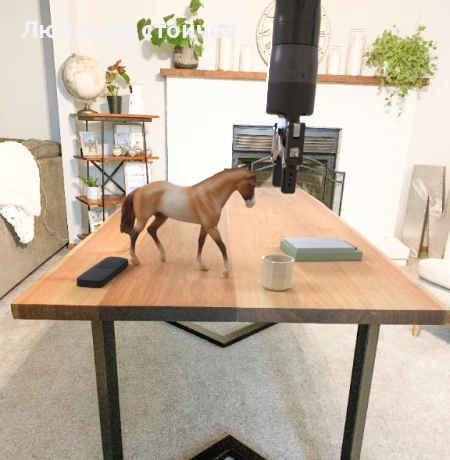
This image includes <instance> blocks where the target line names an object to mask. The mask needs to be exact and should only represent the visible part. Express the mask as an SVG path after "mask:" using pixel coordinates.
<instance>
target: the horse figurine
mask: <svg viewBox="0 0 450 460" xmlns="http://www.w3.org/2000/svg"><path fill="white" fill-rule="evenodd" d="M260 173H261V170H260V169H257V170H253V171H251V170H249V169H247V168H245V167H239V166H236V167H231V168H226V169H223V170H221V171H218V172H215V173H214V174H213V175H211V176H209V177H206V178H205V179H203V180H201V181H199V182H197V183H195V184H193V185H191V186H182V185H178V184H175V183H173V182H171V181H169V180H156V181H155V180H154V181H151V182H149V183H147V184H144V185H143V186H140V187H136V188H135V189H133V190H132V191H130V192H129V193H128V194H127V195H126V196H125V198H124V200H123V202H122V204H121V208H120V211H121V212H120V213H121V215H120V224H119V232H120V234H127V235H128V236H129V239H130V244H129V245H130V248H129V251H128V254H129V255H130V257H131V259H130V263H131V264H132V265H134V266H140V265H141V263H142V262H141V261H140V259H139V258H138V256H137V254H136V242H137V241H138V238H139V236H140V234H141V233H142V232H143V231H144V230H145V228H146V232H147V233H148V234H149V236H150V237H151V238H152V240H153V242H154V244H155V245H156V248H157V251H158V252H160V253H159V256H158V259H159V260H160V261H161V262H162V263H164V264H165V263H166V261H167V254H166V250H165V247H164V246H163V244H162V243H161V241H160V239H159V237H158V234H157V232H158V230H159V228H160V227H162V226H163V225H164V224H166V223H167V220H168V219H172V220H175V221H178V222H183V223H189V224H194V225H199V226H200V231H199V235H198V238H197V252H196V256H195V260H196V261H197V262H198V263H199V268H200V270H201V271H205V272H206V271H209V270H210V268H209V266H208V265H207V263H205V261H204V260H203V258H202V252H203V248H204V246H205V242H206V238H207V237H208V235H209V237H210V238H211V239H212V240H213V242H214V243H215V245H216V246H217V247H218V249H219V251H220V253H221V255H222V260H223V266H224V268H223V269H222V273H221V274H222V276H223V277H224V278H225V279H229V278H230V265H231V264H230V260H229V257H228V251H227V246H226V244H225V243H224V241H223V240H222V236H221V233H220V230H219V228H218V225H219V222H220V220H221V215H222V210H223V208H224V207H225V206H226V204H227V202H228V200H229V199H230V198H231V197H232V195H233V194H234V193H235V192H236V191H237V193H239V195H240V196H241V197H242V199H243V201H244V202H245V203H244V204H245V207H246V208H248V209H252V208H253V207H254V206H255V205H256V185H257V175H259V174H260ZM152 217H154V219H153V220H152V222H151V223H149V225H148V226H147V223H148V221H149V220H150V219H151V218H152ZM135 222H136V223H135ZM146 226H147V227H146Z"/></svg>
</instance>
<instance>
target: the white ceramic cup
mask: <svg viewBox="0 0 450 460" xmlns="http://www.w3.org/2000/svg"><path fill="white" fill-rule="evenodd" d="M261 258H262V259H261V272H260V273H261V274H260V285H261V286H263V288H264V289H267V290H268V291H269V290H270V291H275V292H276V291H277V292H282V291H287V290H289V289H290V288H292V287H293V282H294V273H295V272H294V271H295V262H296V261H295V259H294V258H293V257H291V256H289V255H288V254H281V253H269V254H265V255H263V256H262V257H261Z"/></svg>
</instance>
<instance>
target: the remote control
mask: <svg viewBox="0 0 450 460" xmlns="http://www.w3.org/2000/svg"><path fill="white" fill-rule="evenodd" d="M129 265H130V264H129V259H128V258H127V257H121V256H114V255H113V256H106V257H104V258H103V259H101V260H100V261H99V262H97V263H96V264H94V265H93V266H92V267H90V268H88V269H87V270H86V271H84V272H83V273H82V274H80V275H78V276H77V277H76V286H77V287H84V288H102V287H104V286H105V285H107V284H108V283H109V282H110V281H111V280H113V279H114V278H115V277H116V276H117V275H118V274H120V273H121V272H122V271H124V270H125V269H126V268H127V267H128V266H129Z"/></svg>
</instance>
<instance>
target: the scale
mask: <svg viewBox="0 0 450 460" xmlns="http://www.w3.org/2000/svg"><path fill="white" fill-rule="evenodd" d="M279 248H280V249H281V250H282V251H283V252H284V253H285V254H286V255H288V256H291V257H293V258H294V259H295V262H334V261H335V262H337V261H338V262H343V261H344V262H345V261H362V259H363V254H364V252H363V251H362V250H360V249H359V248H358V247H356V246H355V245H354V244H352V243H350V242H348V241H347V240H343V239H342V238H340V237H338V236H329V237H328V236H327V237H325V236H323V237H322V236H321V237H320V236H318V237H316V236H315V237H314V236H313V237H312V236H311V237H308V236H306V237H305V236H303V237H301V236H299V237H296V236H295V237H292V236H291V237H283V239H280V242H279Z"/></svg>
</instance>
